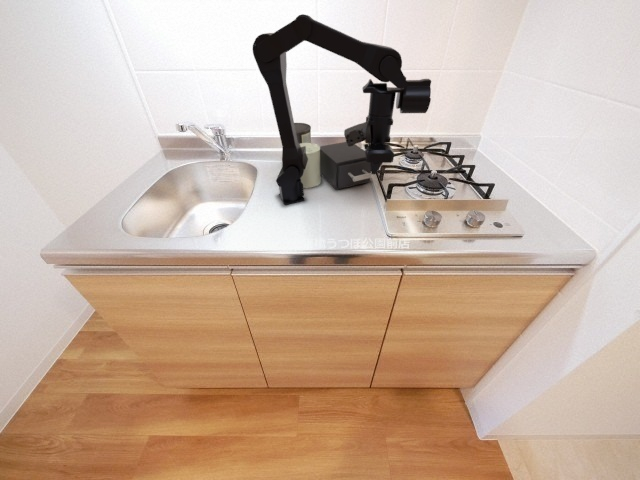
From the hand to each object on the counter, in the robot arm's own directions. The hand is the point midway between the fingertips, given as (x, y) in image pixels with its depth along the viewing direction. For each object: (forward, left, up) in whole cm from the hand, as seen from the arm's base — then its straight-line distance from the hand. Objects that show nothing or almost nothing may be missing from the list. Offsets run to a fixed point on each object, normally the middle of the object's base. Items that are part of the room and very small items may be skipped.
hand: (373, 173), depth 70 cm
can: (-13, +19, -9) cm, 25 cm away
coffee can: (-11, +32, -9) cm, 35 cm away
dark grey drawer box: (0, +17, -9) cm, 19 cm away
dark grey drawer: (0, +13, -8) cm, 15 cm away
